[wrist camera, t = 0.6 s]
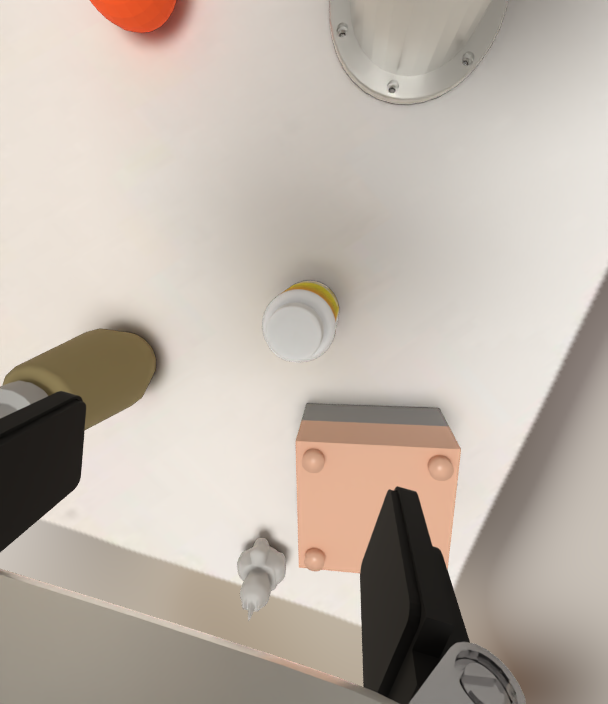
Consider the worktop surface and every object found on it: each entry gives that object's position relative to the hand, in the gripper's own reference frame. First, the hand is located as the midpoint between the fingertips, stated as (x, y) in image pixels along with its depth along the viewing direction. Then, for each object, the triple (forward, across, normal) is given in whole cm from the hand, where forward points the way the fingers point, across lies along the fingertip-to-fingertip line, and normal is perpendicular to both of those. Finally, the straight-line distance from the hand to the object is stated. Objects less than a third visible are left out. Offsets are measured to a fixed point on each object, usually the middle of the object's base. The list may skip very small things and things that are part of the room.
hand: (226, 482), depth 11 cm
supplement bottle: (+26, 0, -1) cm, 26 cm away
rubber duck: (+26, -1, +28) cm, 38 cm away
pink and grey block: (+26, -9, +13) cm, 30 cm away
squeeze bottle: (+26, +18, +8) cm, 32 cm away
